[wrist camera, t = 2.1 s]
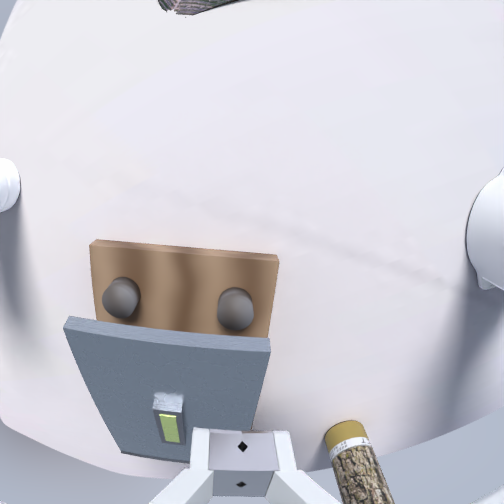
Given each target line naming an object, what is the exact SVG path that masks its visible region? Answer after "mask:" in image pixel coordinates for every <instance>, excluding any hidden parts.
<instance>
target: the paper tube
mask: <svg viewBox="0 0 504 504" xmlns="http://www.w3.org/2000/svg"><path fill="white" fill-rule="evenodd" d="M325 442H326V445H327V449H328V452H329V456H330V460H331V463H332V467H333V470H334V473H335V477H336V480H337V484H338V488H339V491H340V495H341V498H342V502H343V504H395V503H394V500H393V498H392V495H391V493H390V490H389V488H388V485H387V483H386V480H385V478H384V475H383V473H382V470H381V468H380V465H379V463H378V460H377V458H376V455H375V453H374V451H373V448H372V446H371V443H370V441H369V439H368V437H367V434H366V432H365V429H364V427H363V425H362V424H361V423H359V422H357V421H345V422H342V423H339V424H337V425H335V426H333V427H332V428H331V429H330V430H329V431H328V432H327V434H326V436H325Z"/></svg>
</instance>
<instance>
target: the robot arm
mask: <svg viewBox="0 0 504 504" xmlns="http://www.w3.org/2000/svg"><path fill="white" fill-rule="evenodd" d="M467 250H468V255H469V258H470V261H471V263H472V265H473V267H474V268H475V270H476V272H477V279H478V285H479V287H480V288H482V289H484V290H488V289H491V288H495V287H498V288H500V289H502V290H503V291H504V168H503V169H502V171H501V173H500V174H499V176H498V177H496V178H495V179H493V180H492V181H490V182H489V183H488V184H487V185H486V186H485V187H484V188H483V189H482V190H481V192H480V193H479V195H478V197H477V199H476V201H475V203H474V205H473V208H472V211H471V214H470V217H469V222H468V228H467ZM209 435H210V438H209ZM212 496H248V497H265V498H266V500H267V501H268V502H269V503H270V504H341V503H340V502H339V501H337V500H336V499H335V498H334V497H332V496H331V495H330V494H329V493H328V492H326V491H325V490H324V489H323V488H322V487H321V486H319V485H318V484H317V483H316V482H315V481H314V480H312V479H311V478H310V477H309V476H308V475H307V474H306V473H305V472H304V471H303V470H297V466H296V461H295V457H294V452H293V447H292V442H291V438H290V433H289V432H288V431H271V430H270V431H243V430H241V431H232V430H219V429H208V428H196V427H194V428H193V433H192V444H191V456H190V468H184V469H183V470H182V471H181V472H180V473H179V474H178V475H177V476H176V477H175V478H174V479H173V480H172V481H171V482H170V484H168V485H167V486H166V487H165V488H164V489H163V490H162V491H161V492H160V493H159V494H158V495H157V496H156V497H155V498H154V499H153V500H152V501H151V502H150V503H148V504H207V503H208V502H209V501H210V499H211V498H212ZM0 504H6V503H4V502H2V501H1V500H0ZM470 504H504V485H502V486H501V487H499V488H498V489H496V490H494V491H492V492H491V493H489V494H487V495H485V496H483V497H482V498H480V499H478V500H476V501H474V502H472V503H470Z"/></svg>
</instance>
